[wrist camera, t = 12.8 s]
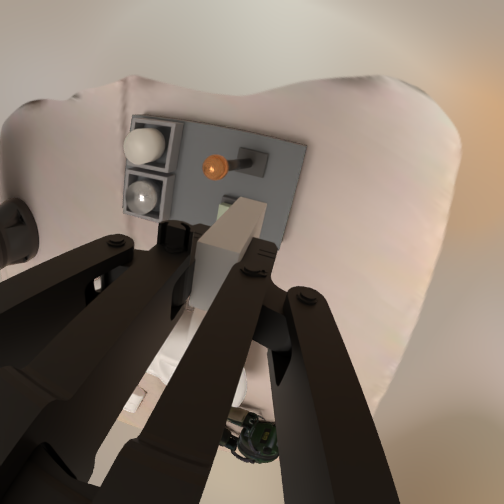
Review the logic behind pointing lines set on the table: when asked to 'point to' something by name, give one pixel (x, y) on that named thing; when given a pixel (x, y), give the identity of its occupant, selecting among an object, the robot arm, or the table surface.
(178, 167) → the switch panel
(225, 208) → the rocker switch
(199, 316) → the white wavy slab sculpture
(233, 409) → the headphones
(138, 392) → the knuckle duster
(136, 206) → the metal button
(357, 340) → the table surface
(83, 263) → the robot arm
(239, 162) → the toggle lever
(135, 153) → the white button
